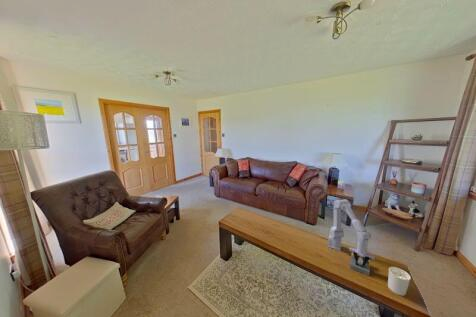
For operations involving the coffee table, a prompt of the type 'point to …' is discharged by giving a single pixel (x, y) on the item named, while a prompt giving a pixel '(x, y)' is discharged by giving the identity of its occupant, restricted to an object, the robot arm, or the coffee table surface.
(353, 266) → the socket block
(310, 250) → the coffee table surface
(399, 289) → the candle holder
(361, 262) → the metal peg
